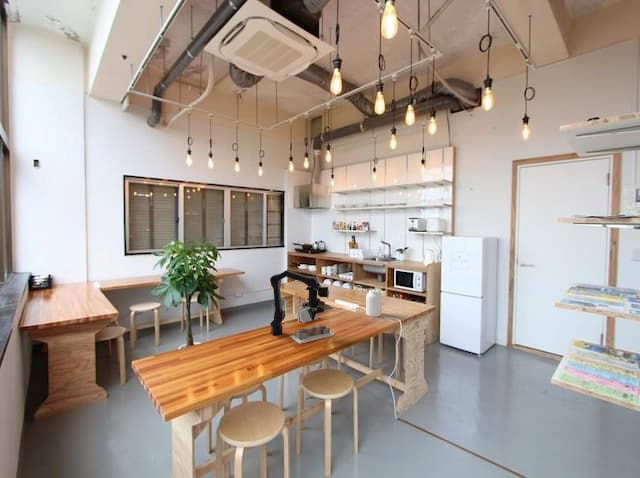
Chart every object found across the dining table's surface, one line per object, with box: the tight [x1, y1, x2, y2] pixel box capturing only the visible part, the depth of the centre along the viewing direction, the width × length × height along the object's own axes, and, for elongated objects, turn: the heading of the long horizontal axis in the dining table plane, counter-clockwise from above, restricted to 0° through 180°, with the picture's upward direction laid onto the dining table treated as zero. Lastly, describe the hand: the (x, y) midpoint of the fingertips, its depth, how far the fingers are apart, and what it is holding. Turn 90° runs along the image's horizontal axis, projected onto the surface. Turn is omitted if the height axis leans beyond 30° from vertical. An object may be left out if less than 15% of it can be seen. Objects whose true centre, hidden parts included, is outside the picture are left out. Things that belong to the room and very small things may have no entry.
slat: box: [298, 324, 327, 337], centre depth 198 cm, size 18×3×5 cm, turn 120°
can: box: [365, 289, 383, 318], centre depth 246 cm, size 12×12×20 cm
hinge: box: [297, 307, 319, 324], centre depth 232 cm, size 17×5×10 cm, turn 133°
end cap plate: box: [290, 325, 335, 345], centre depth 198 cm, size 26×12×4 cm, turn 123°
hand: (312, 320), depth 198 cm, fingers closed
